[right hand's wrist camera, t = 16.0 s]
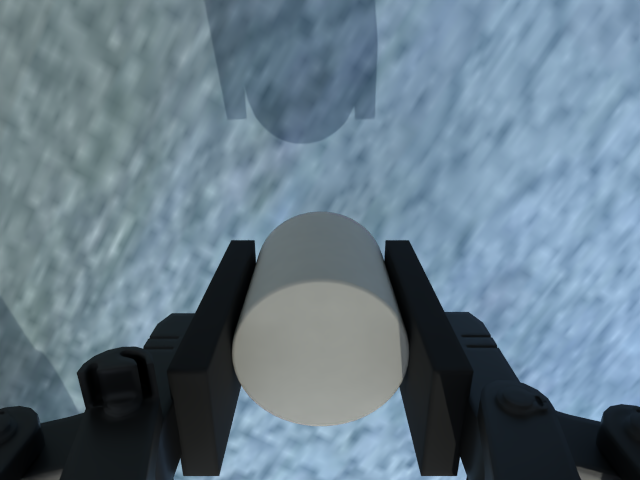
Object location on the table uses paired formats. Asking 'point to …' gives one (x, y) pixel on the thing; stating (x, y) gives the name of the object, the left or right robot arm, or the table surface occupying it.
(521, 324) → the table surface
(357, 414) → the canister
